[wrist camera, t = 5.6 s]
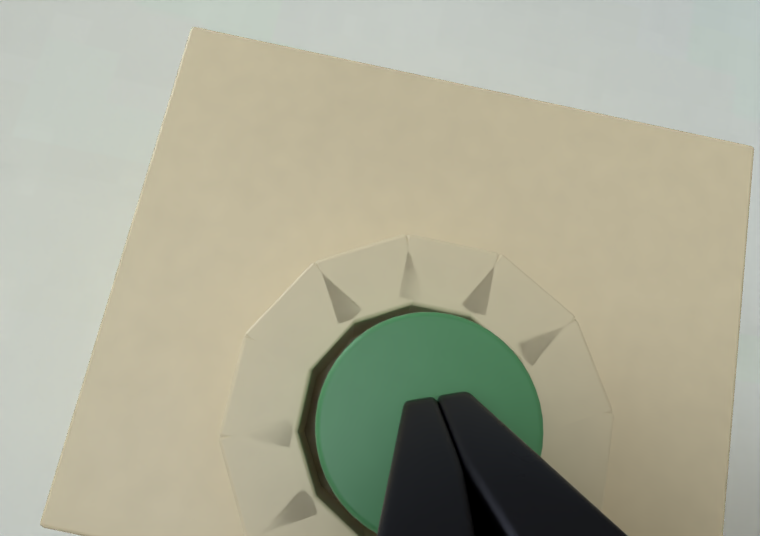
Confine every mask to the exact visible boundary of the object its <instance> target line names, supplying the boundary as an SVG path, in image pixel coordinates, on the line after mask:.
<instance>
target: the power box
mask: <svg viewBox="0 0 760 536" xmlns="http://www.w3.org/2000/svg"><path fill="white" fill-rule="evenodd" d="M753 155H754V148H753V147H752V146H748V145H744V144H739V143H734V142H730V141H725V140H720V139H716V138H711V137H706V136H702V135H697V134H692V133H688V132H683V131H678V130H674V129H669V128H664V127H660V126H655V125H650V124H646V123H641V122H636V121H631V120H627V119H622V118H617V117H613V116H608V115H603V114H599V113H594V112H589V111H585V110H580V109H575V108H571V107H566V106H561V105H557V104H552V103H547V102H543V101H538V100H533V99H529V98H524V97H519V96H515V95H510V94H505V93H501V92H496V91H491V90H487V89H482V88H477V87H473V86H468V85H463V84H459V83H454V82H449V81H445V80H440V79H435V78H431V77H426V76H421V75H417V74H412V73H407V72H403V71H398V70H393V69H389V68H384V67H379V66H375V65H370V64H365V63H361V62H356V61H351V60H347V59H342V58H337V57H333V56H328V55H323V54H319V53H314V52H309V51H305V50H300V49H295V48H291V47H286V46H281V45H277V44H272V43H267V42H263V41H258V40H253V39H249V38H244V37H239V36H234V35H230V34H225V33H220V32H216V31H211V30H206V29H202V28H197V27H192V28H191V30H190V33H189V37H188V40H187V43H186V46H185V50H184V53H183V56H182V60H181V63H180V66H179V69H178V73H177V76H176V79H175V82H174V86H173V89H172V92H171V96H170V99H169V102H168V105H167V109H166V112H165V115H164V119H163V122H162V125H161V128H160V132H159V135H158V138H157V141H156V145H155V148H154V151H153V155H152V158H151V161H150V164H149V168H148V171H147V174H146V177H145V181H144V184H143V187H142V191H141V194H140V197H139V200H138V204H137V207H136V210H135V214H134V217H133V220H132V223H131V227H130V230H129V233H128V236H127V240H126V243H125V246H124V250H123V253H122V256H121V259H120V263H119V266H118V269H117V272H116V276H115V279H114V282H113V286H112V289H111V292H110V295H109V299H108V302H107V305H106V309H105V312H104V315H103V318H102V322H101V325H100V328H99V331H98V335H97V338H96V341H95V345H94V348H93V351H92V354H91V358H90V361H89V364H88V367H87V371H86V374H85V377H84V381H83V384H82V387H81V390H80V394H79V397H78V400H77V403H76V407H75V410H74V413H73V417H72V420H71V423H70V426H69V430H68V433H67V436H66V440H65V443H64V446H63V449H62V453H61V456H60V459H59V462H58V466H57V469H56V472H55V476H54V479H53V482H52V485H51V489H50V492H49V495H48V498H47V502H46V505H45V508H44V512H43V515H42V518H41V522H40V525H41V526H42V527H44V528H48V529H53V530H58V531H63V532H67V533H72V534H77V535H82V536H377V534H376V533H375V532H373V531H372V530H370V529H368V528H367V527H365V526H364V525H363V524H361V523H360V522H359V521H358V520H357V519H355V518H354V517H353V516H352V515H351V514H350V513H349V512H348V511H347V510H346V508H345V507H344V506H343V505H342V504H341V502H340V501H339V500H338V498H337V497H336V495H335V494H334V493H333V491H332V489H331V487H330V485H329V483H328V481H327V480H326V478H325V475H324V472H323V470H322V467H321V464H320V460H319V456H318V452H317V447H316V437H315V417H316V410H317V404H318V399H319V396H320V392H321V389H322V386H323V384H324V381H325V379H326V377H327V375H328V372H329V371H330V369H331V367H332V366H333V364H334V362H335V361H336V359H337V358H338V357H339V356H340V354H341V353H342V352H343V351H344V349H345V348H346V347H347V346H348V345H349V344H350V343H351V342H352V341H353V340H354V339H355V338H357V337H358V336H359V335H361V334H362V333H363V332H365V331H366V330H367V329H369V328H371V327H373V326H375V325H376V324H378V323H380V322H382V321H385V320H387V319H390V318H392V317H396V316H400V315H404V314H408V313H416V312H439V313H446V314H452V315H455V316H459V317H462V318H465V319H468V320H470V321H473V322H475V323H477V324H479V325H481V326H483V327H484V328H486V329H488V330H489V331H491V332H492V333H494V334H495V335H496V336H498V337H499V338H500V339H501V340H503V341H504V342H505V343H506V344H507V345H508V346H509V347H510V348H511V349H512V350H513V351H514V353H515V354H516V355H517V357H518V358H519V359H520V360H521V362H522V363H523V365H524V366H525V368H526V370H527V371H528V373H529V375H530V377H531V379H532V381H533V384H534V386H535V388H536V391H537V394H538V398H539V401H540V405H541V410H542V416H543V432H544V435H543V447H542V453H541V458H542V459H544V460H545V461H546V462H547V463H548V464H549V465H550V466H551V467H552V468H554V469H555V470H556V471H557V472H558V473H559V474H560V475H561V476H562V477H563V478H565V479H566V480H567V481H568V482H569V483H570V484H571V485H572V486H573V487H575V488H576V489H577V490H578V491H579V492H580V493H581V494H582V495H583V496H584V497H586V498H587V499H588V500H589V501H590V502H591V503H592V504H593V505H594V506H596V507H597V508H598V509H599V510H600V511H601V512H602V513H603V514H604V515H605V516H607V517H608V518H609V519H610V520H611V521H612V522H613V523H614V524H615V525H617V526H618V527H619V528H620V529H621V530H622V531H623V532H624V533H625V534H626V535H628V536H723V526H724V514H725V501H726V489H727V477H728V464H729V452H730V440H731V427H732V415H733V402H734V390H735V378H736V365H737V353H738V340H739V328H740V316H741V303H742V291H743V279H744V266H745V254H746V241H747V229H748V217H749V204H750V192H751V179H752V167H753Z"/></svg>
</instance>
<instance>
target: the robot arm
mask: <svg viewBox="0 0 760 536" xmlns="http://www.w3.org/2000/svg"><path fill="white" fill-rule="evenodd" d="M377 536H628V535H626V534H625V533H624V532H623V531H622V530H621V529H620V528H619V527H618V526H617V525H615V524H614V523H613V522H612V521H611V520H610V519H609V518H608V517H607V516H605V515H604V514H603V513H602V512H601V511H600V510H599V509H598V508H597V507H596V506H594V505H593V504H592V503H591V502H590V501H589V500H588V499H587V498H586V497H584V496H583V495H582V494H581V493H580V492H579V491H578V490H577V489H576V488H575V487H573V486H572V485H571V484H570V483H569V482H568V481H567V480H566V479H565V478H563V477H562V476H561V475H560V474H559V473H558V472H557V471H556V470H555V469H554V468H552V467H551V466H550V465H549V464H548V463H547V462H546V461H545V460H544V459H542V458H541V457H540V456H539V455H538V454H537V453H536V452H535V451H534V450H532V449H531V448H530V447H529V446H528V445H527V444H526V443H525V442H524V441H523V440H521V439H520V438H519V437H518V436H517V435H516V434H515V433H514V432H513V431H511V430H510V429H509V428H508V427H507V426H506V425H505V424H504V423H503V422H502V421H500V420H499V419H498V418H497V417H496V416H495V415H494V414H493V413H492V412H490V411H489V410H488V409H487V408H486V407H485V406H484V405H483V404H482V403H481V402H479V401H478V400H477V399H476V398H475V397H474V396H473V395H472V394H470V393H468V392H457V393H451V394H445V395H441V396H439V397H438V398H437V400H436V399H435V398H433V397H426V398H420V399H414V400H408V401H406V402H405V403H404V405H403V409H402V414H401V419H400V424H399V429H398V434H397V438H396V443H395V448H394V453H393V458H392V463H391V468H390V473H389V478H388V483H387V487H386V492H385V497H384V502H383V507H382V512H381V517H380V522H379V527H378V532H377Z"/></svg>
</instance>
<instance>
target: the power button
mask: <svg viewBox="0 0 760 536" xmlns="http://www.w3.org/2000/svg"><path fill="white" fill-rule="evenodd" d="M457 392H468V393H470V394H472V395H473V396H474V397H475V398H476V399H477V400H478V401H479V402H481V403H482V404H483V405H484V406H485V407H486V408H487V409H488V410H489V411H490V412H492V413H493V414H494V415H495V416H496V417H497V418H498V419H499V420H500V421H502V422H503V423H504V424H505V425H506V426H507V427H508V428H509V429H510V430H511V431H513V432H514V433H515V434H516V435H517V436H518V437H519V438H520V439H521V440H523V441H524V442H525V443H526V444H527V445H528V446H529V447H530V448H531V449H532V450H534V451H535V452H536V453H537V454H538V455H539V456H540V457H541V453H542V447H543V435H544V432H543V416H542V410H541V405H540V401H539V398H538V394H537V391H536V388H535V386H534V384H533V381H532V379H531V377H530V375H529V373H528V371H527V370H526V368H525V366H524V365H523V363H522V362H521V360H520V359H519V358H518V357H517V355H516V354H515V353H514V351H513V350H512V349H511V348H510V347H509V346H508V345H507V344H506V343H505V342H504V341H503V340H501V339H500V338H499V337H498V336H496V335H495V334H494V333H492V332H491V331H489V330H488V329H486V328H484V327H483V326H481V325H479V324H477V323H475V322H473V321H470V320H468V319H465V318H462V317H459V316H455V315H452V314H446V313H439V312H416V313H408V314H404V315H400V316H396V317H392V318H390V319H387V320H385V321H382V322H380V323H378V324H376V325H375V326H373V327H371V328H369V329H367V330H366V331H365V332H363V333H362V334H361V335H359V336H358V337H357V338H355V339H354V340H353V341H352V342H351V343H350V344H349V345H348V346H347V347H346V348H345V349H344V351H343V352H342V353H341V354H340V356H339V357H338V358H337V359H336V361H335V362H334V364H333V366H332V367H331V369H330V371H329V372H328V375H327V377H326V379H325V381H324V384H323V386H322V389H321V392H320V396H319V399H318V404H317V410H316V417H315V437H316V447H317V452H318V456H319V460H320V464H321V467H322V470H323V472H324V475H325V478H326V480H327V481H328V483H329V485H330V487H331V489H332V491H333V493H334V494H335V495H336V497H337V498H338V500H339V501H340V502H341V504H342V505H343V506H344V507H345V508H346V510H347V511H348V512H349V513H350V514H351V515H352V516H353V517H354V518H355V519H357V520H358V521H359V522H360V523H361V524H363V525H364V526H365V527H367V528H368V529H370V530H372V531H373V532H375V533H376V534H377V532H378V527H379V522H380V517H381V512H382V507H383V502H384V497H385V492H386V487H387V483H388V478H389V473H390V468H391V463H392V458H393V453H394V448H395V443H396V438H397V434H398V429H399V424H400V419H401V414H402V409H403V405H404V403H405V402H406V401H408V400H414V399H420V398H426V397H433V398H435V399H436V400H437V398H438V397H439V396H441V395H445V394H451V393H457Z"/></svg>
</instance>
